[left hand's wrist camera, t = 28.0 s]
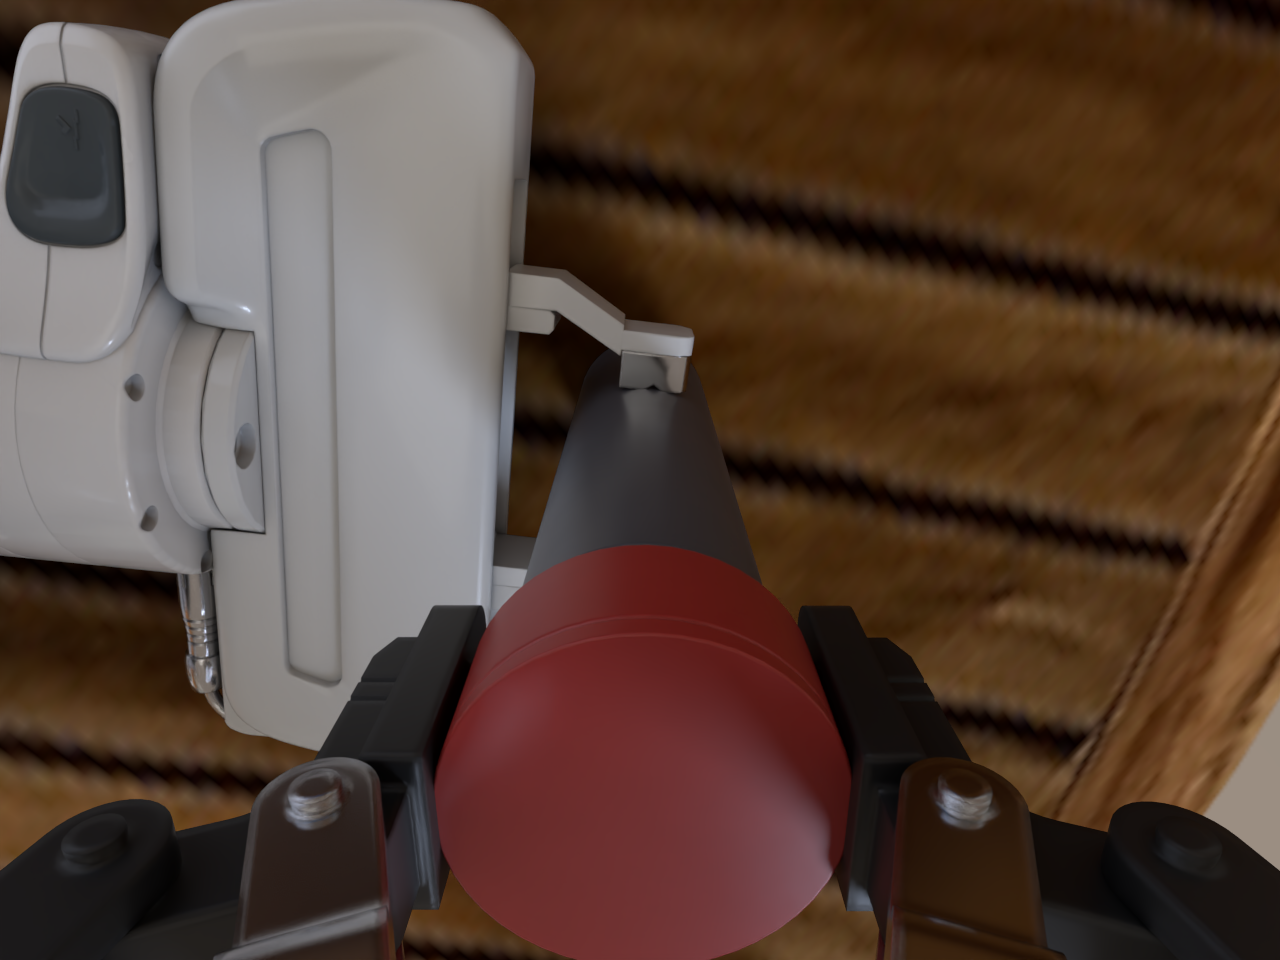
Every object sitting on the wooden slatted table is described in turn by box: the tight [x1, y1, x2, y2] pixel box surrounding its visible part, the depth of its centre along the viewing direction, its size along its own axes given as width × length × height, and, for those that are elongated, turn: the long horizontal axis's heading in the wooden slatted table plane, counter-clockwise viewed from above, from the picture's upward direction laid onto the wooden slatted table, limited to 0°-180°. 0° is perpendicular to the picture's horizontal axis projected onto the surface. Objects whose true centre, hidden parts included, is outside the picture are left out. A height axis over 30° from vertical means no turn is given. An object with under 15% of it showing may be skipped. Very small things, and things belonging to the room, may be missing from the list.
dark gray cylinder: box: [523, 348, 763, 586], centre depth 19 cm, size 4×4×18 cm
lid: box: [434, 545, 852, 960], centre depth 10 cm, size 5×5×2 cm
